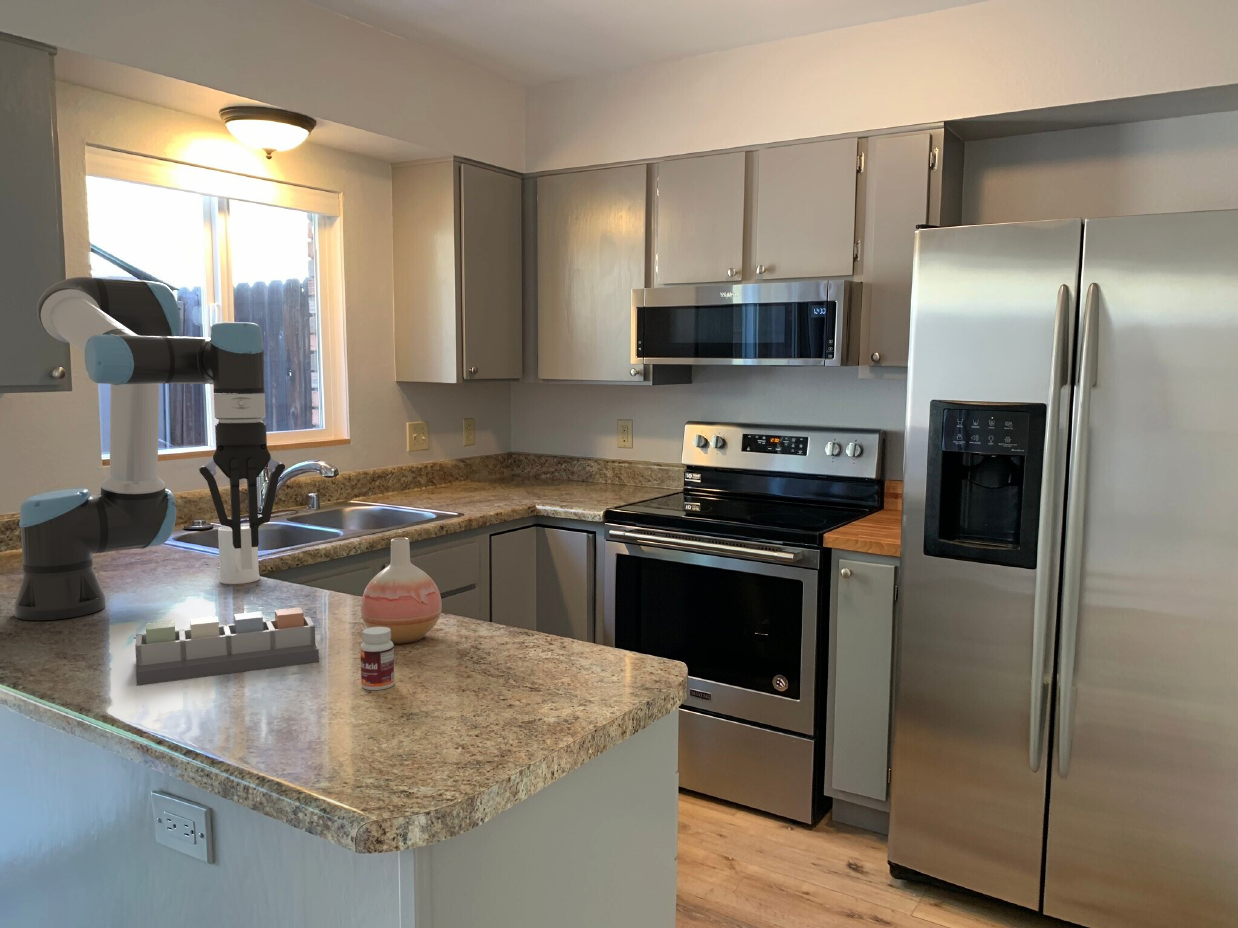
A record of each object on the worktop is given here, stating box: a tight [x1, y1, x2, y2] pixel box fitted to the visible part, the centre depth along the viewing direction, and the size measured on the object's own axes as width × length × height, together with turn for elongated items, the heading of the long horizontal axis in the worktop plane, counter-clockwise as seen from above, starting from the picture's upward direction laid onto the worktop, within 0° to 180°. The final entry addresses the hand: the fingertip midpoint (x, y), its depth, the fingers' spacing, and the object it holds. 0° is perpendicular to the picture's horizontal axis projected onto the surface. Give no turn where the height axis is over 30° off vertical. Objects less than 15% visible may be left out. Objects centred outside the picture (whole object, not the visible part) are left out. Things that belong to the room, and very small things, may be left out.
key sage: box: [145, 620, 176, 644], centre depth 146 cm, size 4×4×3 cm
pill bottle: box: [359, 627, 395, 691], centre depth 138 cm, size 5×5×8 cm
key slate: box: [233, 611, 264, 634], centre depth 151 cm, size 4×4×3 cm
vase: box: [360, 537, 443, 645], centre depth 162 cm, size 14×14×18 cm
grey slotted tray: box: [134, 615, 320, 686], centre depth 150 cm, size 26×14×5 cm, turn 116°
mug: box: [217, 524, 261, 585], centre depth 208 cm, size 12×8×12 cm
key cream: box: [189, 615, 220, 639], centre depth 148 cm, size 4×4×3 cm
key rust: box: [274, 607, 305, 629], centre depth 154 cm, size 4×4×3 cm
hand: (246, 567), depth 150 cm, fingers closed
